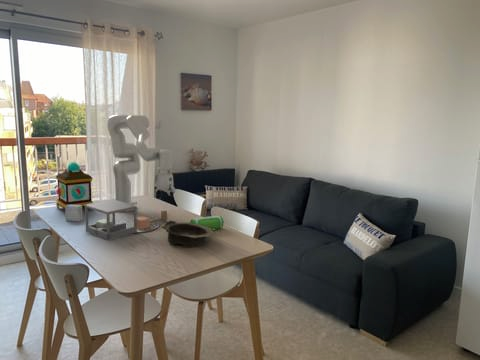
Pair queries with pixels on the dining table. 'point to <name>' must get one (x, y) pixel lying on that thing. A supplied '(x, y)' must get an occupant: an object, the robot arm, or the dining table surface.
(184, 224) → the stone bowl
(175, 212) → the dining table surface
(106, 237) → the lane shelf
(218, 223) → the green tapered cylinder
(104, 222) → the sage block
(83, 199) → the decorative lantern
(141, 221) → the tied block
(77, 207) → the medicine box
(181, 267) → the dining table surface
